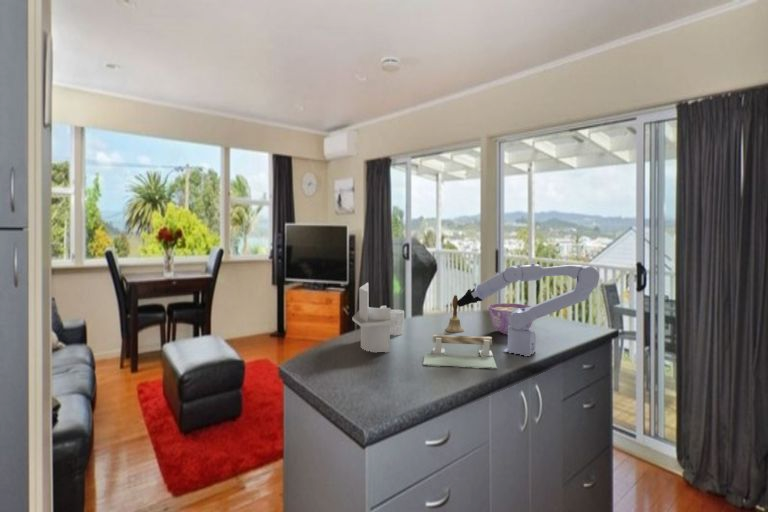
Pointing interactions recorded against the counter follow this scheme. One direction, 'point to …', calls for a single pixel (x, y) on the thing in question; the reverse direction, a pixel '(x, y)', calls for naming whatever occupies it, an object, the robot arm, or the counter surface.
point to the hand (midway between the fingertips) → (460, 303)
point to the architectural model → (373, 323)
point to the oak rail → (462, 339)
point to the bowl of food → (503, 315)
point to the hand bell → (454, 318)
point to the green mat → (458, 361)
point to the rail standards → (483, 352)
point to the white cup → (398, 328)
